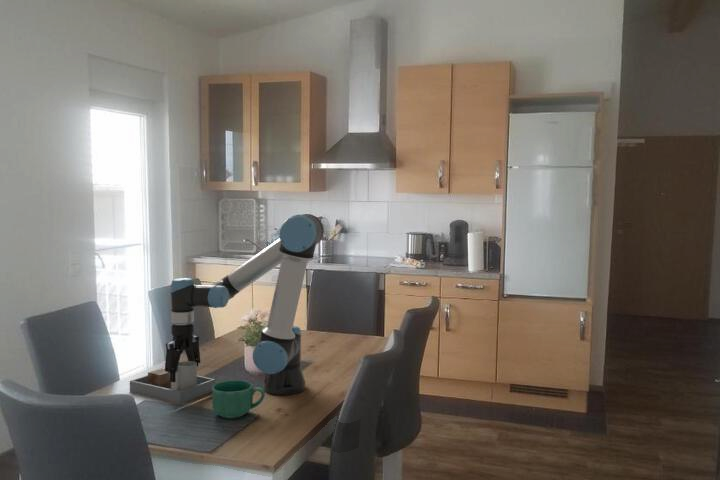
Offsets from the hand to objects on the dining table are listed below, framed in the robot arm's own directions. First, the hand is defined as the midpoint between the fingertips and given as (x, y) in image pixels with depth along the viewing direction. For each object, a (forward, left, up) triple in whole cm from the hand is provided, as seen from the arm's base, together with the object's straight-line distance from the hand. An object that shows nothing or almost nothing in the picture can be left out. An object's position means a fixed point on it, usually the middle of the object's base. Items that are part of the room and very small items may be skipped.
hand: (183, 387), depth 217 cm
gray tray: (+5, 0, -3) cm, 6 cm away
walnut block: (+11, 0, -2) cm, 11 cm away
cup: (0, 0, 0) cm, 1 cm away
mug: (-29, +5, -3) cm, 30 cm away
